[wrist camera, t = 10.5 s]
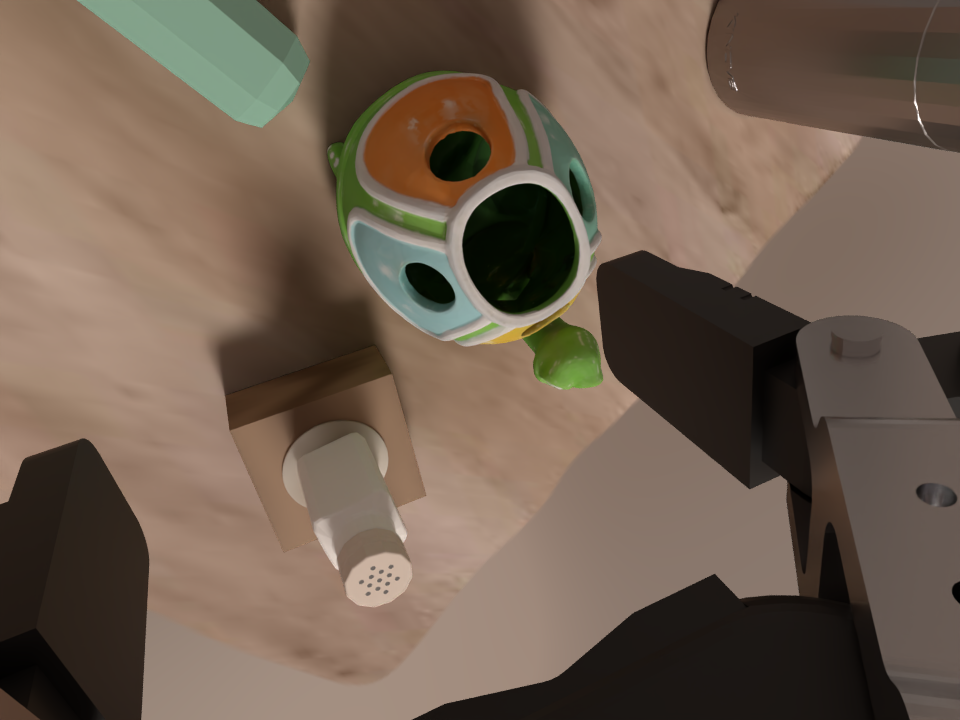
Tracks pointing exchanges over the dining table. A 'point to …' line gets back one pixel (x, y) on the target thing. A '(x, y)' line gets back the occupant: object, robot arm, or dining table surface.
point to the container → (216, 50)
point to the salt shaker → (356, 520)
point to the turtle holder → (473, 217)
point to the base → (320, 433)
